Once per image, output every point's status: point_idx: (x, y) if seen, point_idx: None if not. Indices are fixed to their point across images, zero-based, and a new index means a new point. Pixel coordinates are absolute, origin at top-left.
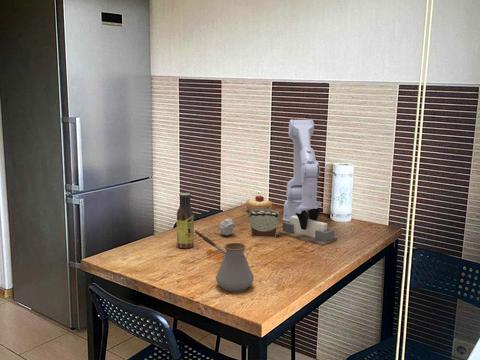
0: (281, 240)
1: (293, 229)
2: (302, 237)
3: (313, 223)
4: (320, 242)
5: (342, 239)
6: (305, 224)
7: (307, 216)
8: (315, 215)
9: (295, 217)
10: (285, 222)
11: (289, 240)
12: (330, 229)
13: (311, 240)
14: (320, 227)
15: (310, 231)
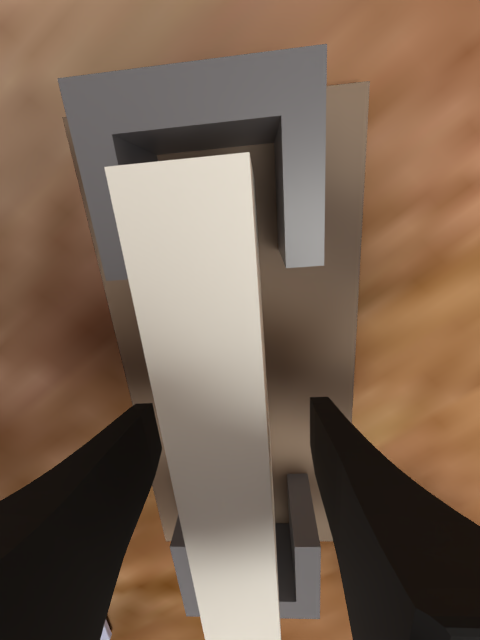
0: (467, 442)
1: (290, 499)
2: (336, 364)
3: (263, 381)
4: (352, 133)
5: (21, 84)
6: (363, 438)
7: (467, 556)
8: (69, 525)
9: (258, 633)
10: (300, 608)
11: (427, 405)
12: (97, 147)
13: (357, 252)
14: (255, 231)
15: (264, 357)
